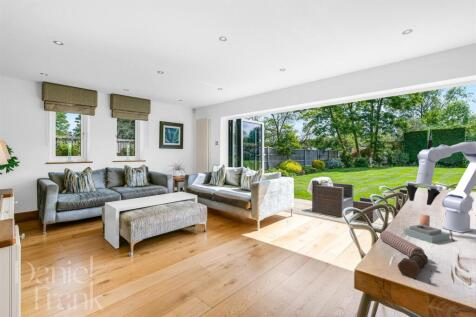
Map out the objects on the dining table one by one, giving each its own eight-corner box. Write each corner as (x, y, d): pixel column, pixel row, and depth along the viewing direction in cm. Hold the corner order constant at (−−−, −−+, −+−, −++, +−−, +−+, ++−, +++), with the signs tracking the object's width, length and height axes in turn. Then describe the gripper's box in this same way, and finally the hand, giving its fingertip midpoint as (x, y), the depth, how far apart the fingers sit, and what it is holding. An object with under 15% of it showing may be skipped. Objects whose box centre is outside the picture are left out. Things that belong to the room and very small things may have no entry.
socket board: (421, 230, 110) (421, 222, 110) (449, 239, 100) (449, 229, 100) (404, 234, 106) (404, 225, 106) (431, 243, 95) (432, 233, 95)
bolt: (424, 268, 79) (410, 282, 69) (409, 256, 82) (394, 268, 73) (436, 256, 76) (423, 269, 67) (419, 244, 80) (405, 255, 70)
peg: (422, 228, 114) (423, 214, 114) (431, 230, 110) (431, 216, 110) (418, 229, 112) (418, 214, 112) (426, 231, 109) (426, 216, 109)
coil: (378, 230, 98) (412, 248, 80) (389, 229, 98) (425, 247, 80) (379, 241, 98) (413, 262, 80) (390, 240, 98) (426, 260, 80)
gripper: (403, 171, 115) (398, 198, 115) (437, 175, 101) (432, 206, 101) (413, 173, 117) (408, 199, 117) (447, 177, 104) (441, 207, 104)
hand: (419, 202), depth 109 cm, fingers open, 7 cm apart
